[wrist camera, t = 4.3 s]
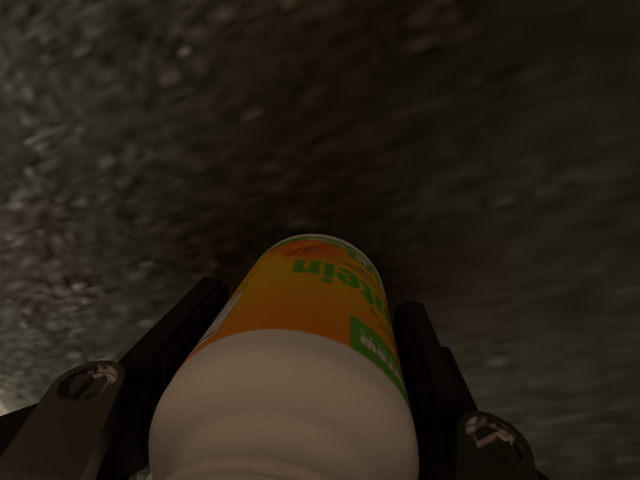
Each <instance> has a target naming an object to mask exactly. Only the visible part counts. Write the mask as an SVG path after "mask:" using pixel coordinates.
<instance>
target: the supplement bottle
mask: <svg viewBox="0 0 640 480" xmlns="http://www.w3.org/2000/svg"><path fill="white" fill-rule="evenodd" d="M148 451H149V465H150V470H151V475H152V479H153V480H418V476H419V453H418V444H417V438H416V432H415V425H414V421H413V416H412V411H411V407H410V403H409V399H408V394H407V390H406V386H405V381H404V377H403V373H402V368H401V364H400V359H399V356H398V349H397V344H396V340H395V337H394V332H393V328H392V324H391V319H390V314H389V310H388V305H387V300H386V295H385V291H384V287H383V284H382V281H381V278H380V276H379V274H378V272H377V270H376V268H375V267H374V265H373V264H372V262H371V261H370V260H369V259H368V258H367V257H366V256H365V255H364V254H363V253H362V252H361V251H360V250H359V249H357V248H356V247H354V246H353V245H351V244H349V243H348V242H346V241H344V240H341V239H338V238H336V237H332V236H328V235H322V234H303V235H297V236H293V237H290V238H287V239H285V240H282V241H280V242H278V243H277V244H275V245H273V246H272V247H271V248H269V249H268V250H267V251H266V252H265V253H264V254H263V255H262V256H261V257H260V258H259V259H258V261H257V262H256V263H255V264H254V266H253V267H252V268H251V270H250V271H249V272H248V274H247V275H246V277H245V278H244V280H243V281H242V283H241V284H240V285H239V287H238V288H237V290H236V291H235V292H234V294H233V295H232V297H231V298H230V299H229V301H228V302H227V304H226V305H225V307H224V308H223V309H222V311H221V312H220V313H219V315H218V316H217V318H216V319H215V321H214V322H213V323H212V325H211V326H210V327H209V329H208V330H207V332H206V333H205V334H204V336H203V337H202V338H201V340H200V341H199V342H198V344H197V345H196V347H195V348H194V349H193V351H192V352H191V353H190V355H189V356H188V357H187V359H186V360H185V362H184V363H183V364H182V365H181V367H180V368H179V369H178V371H177V372H176V374H175V375H174V377H173V379H172V381H171V382H170V384H169V385H168V387H167V388H166V390H165V391H164V393H163V395H162V397H161V399H160V401H159V403H158V405H157V407H156V409H155V412H154V415H153V418H152V422H151V427H150V431H149V441H148Z"/></svg>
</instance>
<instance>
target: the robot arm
mask: <svg viewBox="0 0 640 480" xmlns="http://www.w3.org/2000/svg"><path fill="white" fill-rule="evenodd" d="M227 302H228V285H227V284H224V283H223V280H222V279H218V278H210V277H203V278H202V279H201V280H200V281H199V282H198V283H197V284H196V285H195V286H194V287H193V288H192V289H191V290H190V291H189V292H188V293H187V294H186V295H185V296H184V297H183V298H182V299H181V300H180V301H179V302H178V303H177V304H176V305H175V306H174V307H173V308H172V309H171V310H170V311H169V312H168V313H167V314H166V315H165V316H164V317H163V318H162V319H161V320H160V321H159V322H158V323H157V324H156V325H154V326H153V327H152V328H151V329H150V330H149V331H148V332H147V333H146V334H145V335H144V336H143V337H142V338H141V339H140V340H139V341H138V342H137V343H136V344H135V345H134V346H133V347H132V348H131V349H130V350H129V351H128V352H127V353H126V354H125V355H124V356H123V357H122V358H121V359H120V360H119V361H118V362H113V361H94V362H89V363H86V364H82V365H79V366H77V367H75V368H73V369H71V370H69V371H67V372H65V373H64V374H63V375H61V376H60V377H58V378H57V379H56V380H55V381H54V382H53V384H52V385H51V386H50V387H49V389H48V390H47V392H46V393H45V394H44V396H43V397H42V399H41V400H40V402H39V403H37V404H34V405H31V406H28V407H25V408H23V409H20V410H17V411H14V412H11V413H8V414H5V415H3V416H0V480H136V477H137V472H139V471H141V470H143V469H145V468H146V467H147V468H150V465H149V451H148V441H149V431H150V427H151V422H152V418H153V415H154V412H155V409H156V407H157V405H158V403H159V401H160V399H161V397H162V395H163V393H164V391H165V390H166V388H167V387H168V385H169V384H170V382H171V381H172V379H173V377H174V375H175V374H176V372H177V371H178V369H179V368H180V367H181V365H182V364H183V363H184V362H185V360H186V359H187V357H188V356H189V355H190V353H191V352H192V351H193V349H194V348H195V347H196V345H197V344H198V342H199V341H200V340H201V338H202V337H203V336H204V334H205V333H206V332H207V330H208V329H209V327H210V326H211V325H212V323H213V322H214V321H215V319H216V318H217V316H218V315H219V313H220V312H221V311H222V309H223V308H224V307H225V305H226V304H227ZM392 328H393V332H394V337H395V340H396V344H397V349H398V356H399V359H400V364H401V368H402V373H403V377H404V381H405V386H406V390H407V394H408V399H409V403H410V407H411V411H412V416H413V421H414V425H415V432H416V438H417V444H418V453H419V476H418V480H550V479H549V478H547V477H546V476H544V475H543V474H542V473H540V472H539V471H537V470H536V468H535V463H534V458H533V454H532V451H531V448H530V446H529V444H528V442H527V441H526V439H525V438H524V437H523V435H522V434H521V433H520V432H519V431H518V430H517V429H516V428H515V427H513V426H512V425H511V424H509V423H508V422H506V421H505V420H503V419H502V418H500V417H497V416H495V415H493V414H490V413H486V412H483V411H478V409H477V407H476V405H475V402H474V400H473V398H472V396H471V394H470V392H469V390H468V387H467V385H466V383H465V381H464V379H463V377H462V374H461V372H460V370H459V368H458V366H457V364H456V362H455V359H454V357H453V355H452V353H451V351H450V350H449V348H447V347H442V346H441V345H440V343H439V341H438V338H437V336H436V334H435V332H434V329H433V327H432V325H431V322H430V320H429V318H428V315H427V313H426V311H425V308H424V306H423V304H422V303H416V302H408V301H404V302H403V304H402V305H397V307H396V311H395V316H394V321H393V326H392Z"/></svg>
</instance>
